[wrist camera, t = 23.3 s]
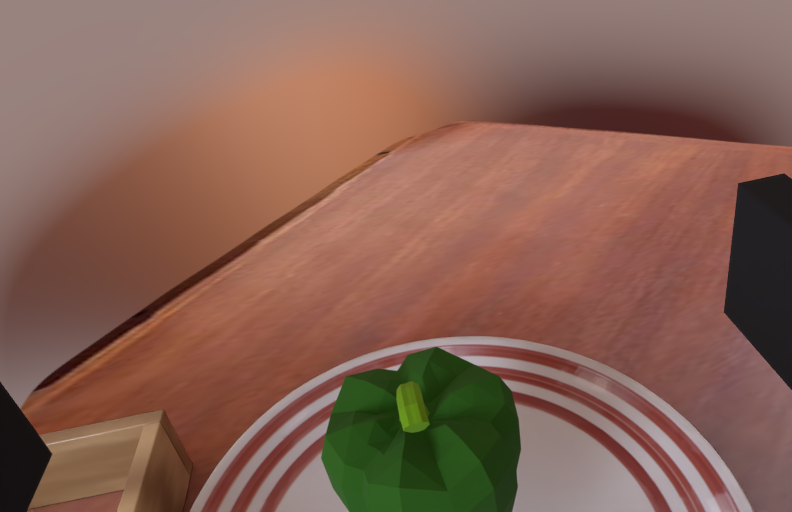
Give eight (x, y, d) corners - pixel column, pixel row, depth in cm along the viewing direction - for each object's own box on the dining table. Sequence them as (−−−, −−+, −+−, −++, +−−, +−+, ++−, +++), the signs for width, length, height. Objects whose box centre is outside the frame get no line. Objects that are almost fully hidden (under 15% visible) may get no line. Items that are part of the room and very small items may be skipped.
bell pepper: (378, 446, 35) (335, 301, 29) (534, 457, 32) (517, 300, 27) (330, 601, 28) (263, 448, 23) (521, 629, 26) (497, 466, 20)
